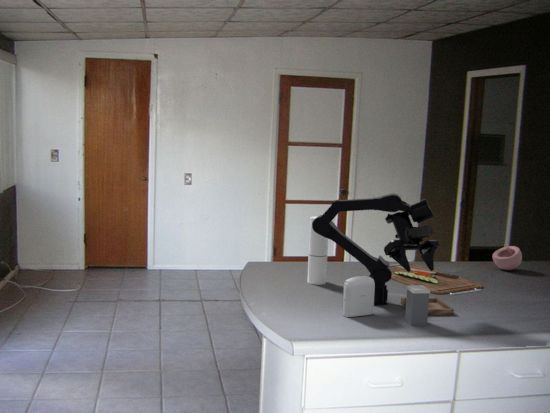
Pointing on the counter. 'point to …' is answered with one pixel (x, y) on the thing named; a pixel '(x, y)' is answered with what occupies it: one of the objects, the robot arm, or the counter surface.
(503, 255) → the pink round bowl
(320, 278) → the cylindrical container
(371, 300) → the white tombstone-shaped block
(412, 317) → the grey upright rectangular prism
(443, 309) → the walnut tray
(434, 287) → the chopping board
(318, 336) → the counter surface
